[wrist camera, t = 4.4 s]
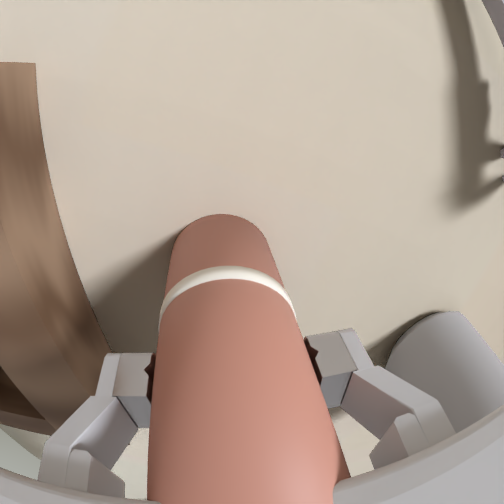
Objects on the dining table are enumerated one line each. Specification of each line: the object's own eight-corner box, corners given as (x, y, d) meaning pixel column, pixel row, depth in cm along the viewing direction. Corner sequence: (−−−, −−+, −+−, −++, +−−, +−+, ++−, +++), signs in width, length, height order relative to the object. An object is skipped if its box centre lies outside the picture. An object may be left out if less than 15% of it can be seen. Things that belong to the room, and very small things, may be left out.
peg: (271, 294, 15) (353, 577, 4) (179, 304, 14) (182, 598, 3) (270, 208, 13) (429, 580, 1) (162, 218, 12) (111, 619, 1)
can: (361, 373, 20) (421, 515, 10) (423, 294, 17) (529, 444, 6) (419, 375, 22) (476, 481, 12) (473, 310, 19) (553, 418, 9)
